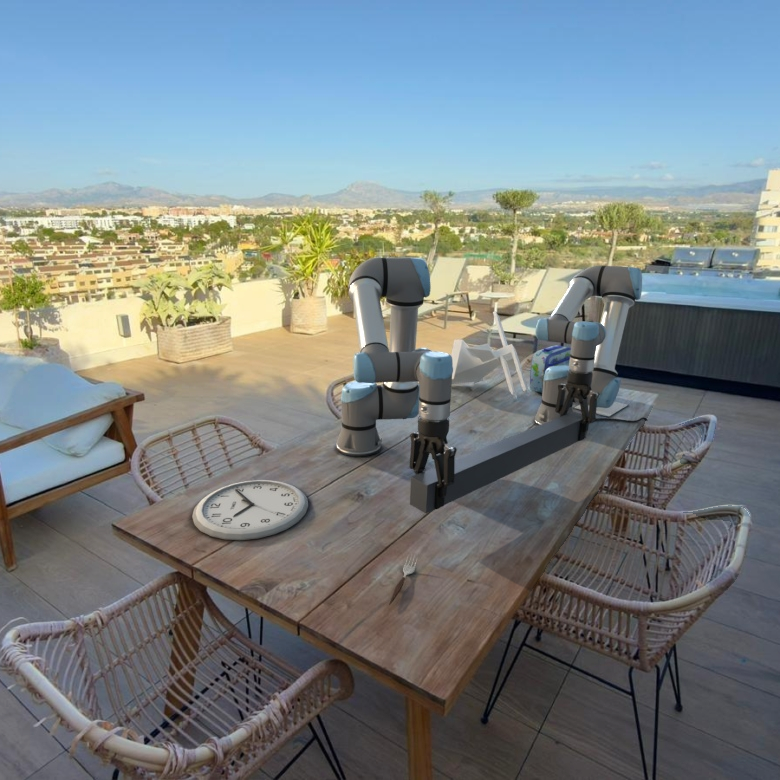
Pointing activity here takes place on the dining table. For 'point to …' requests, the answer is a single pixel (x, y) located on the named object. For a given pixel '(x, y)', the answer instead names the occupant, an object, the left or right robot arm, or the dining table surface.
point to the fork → (407, 571)
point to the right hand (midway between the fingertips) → (572, 436)
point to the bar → (497, 460)
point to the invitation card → (607, 409)
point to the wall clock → (250, 510)
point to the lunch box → (547, 364)
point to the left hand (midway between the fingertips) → (429, 501)
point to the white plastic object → (485, 361)
